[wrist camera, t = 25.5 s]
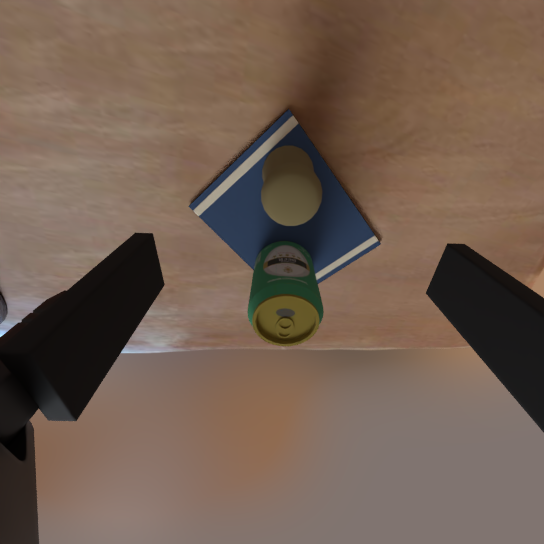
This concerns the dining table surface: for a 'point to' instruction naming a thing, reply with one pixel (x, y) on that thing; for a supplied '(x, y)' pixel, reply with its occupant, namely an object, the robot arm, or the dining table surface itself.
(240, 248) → the towel
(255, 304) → the beverage can
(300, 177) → the olive game pawn
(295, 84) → the dining table surface
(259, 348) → the dining table surface
